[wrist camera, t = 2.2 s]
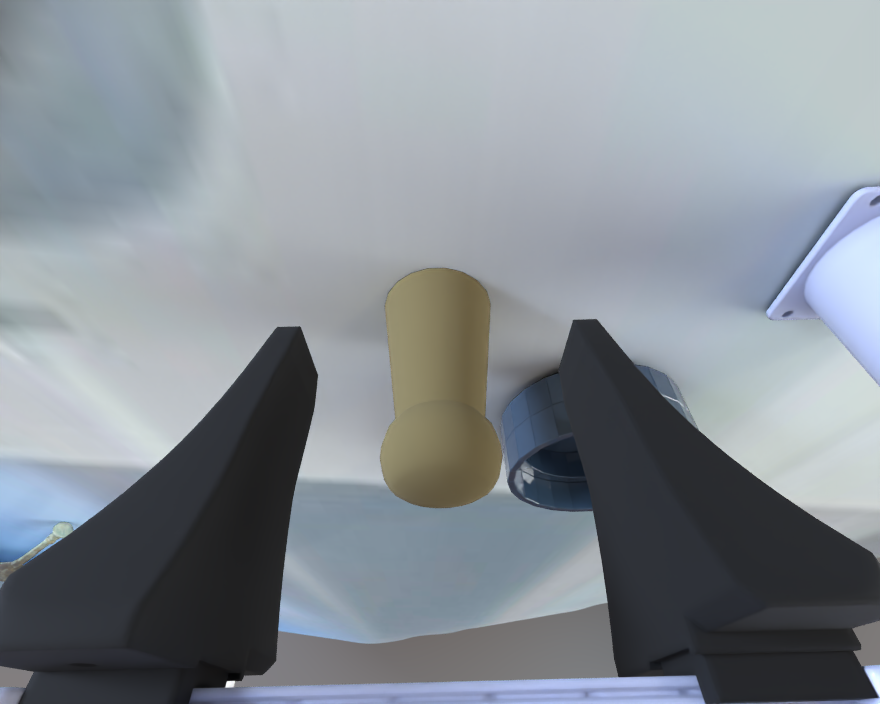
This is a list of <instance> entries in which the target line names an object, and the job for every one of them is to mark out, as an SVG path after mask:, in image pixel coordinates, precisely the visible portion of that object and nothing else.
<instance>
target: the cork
mask: <svg viewBox="0 0 880 704" xmlns="http://www.w3.org/2000/svg"><path fill="white" fill-rule="evenodd" d="M385 313H386V324H387V335H388V345H389V356H390V367H391V377H392V388H393V399H394V410H395V420H394V421H393V422H392V423H391V425H390V426H389V428H388V430H387V433H386V435H385V438H384V441H383V443H382V446H381V454H380V462H381V467H382V472H383V477H384V480H385V482H386V484H387V485H388V487H389V489H390V490H391V491H392V492H393V493H394V494H395V495H396V496H397V497H399V498H401V499H403V500H405V501H407V502H409V503H411V504H414V505H418V506H422V507H429V508H451V507H458V506H463V505H466V504H469V503H473V502H475V501H476V500H478V499H480V498H482V497H483V496H485V495H487V494H488V493H489V492H490V491H491V490H492V489H493V488H494V486H495V484H496V482H497V480H498V478H499V475H500V469H501V462H502V450H501V444H500V441H499V439H498V437H497V434H496V432H495V430H494V428H493V426H492V423H491V422H490V421H489V420H487V419H486V418H485V409H486V388H487V367H488V345H489V324H490V300H489V297H488V294H487V291H486V290H485V289H484V288H483V287H482V285H481V284H480V283H479V282H478V281H477V280H476V279H474V278H472V277H470V276H469V275H467V274H465V273H463V272H460V271H456V270H451V269H447V268H431V269H425V270H421V271H418V272H414V273H411V274H409V275H408V276H406V277H404V278H403V279H401V280H400V281H398V282H397V283H396V284H395V286H394V287H393V288H392V289H391V291H390V292H389V293H388V296H387V300H386V303H385Z"/></svg>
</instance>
